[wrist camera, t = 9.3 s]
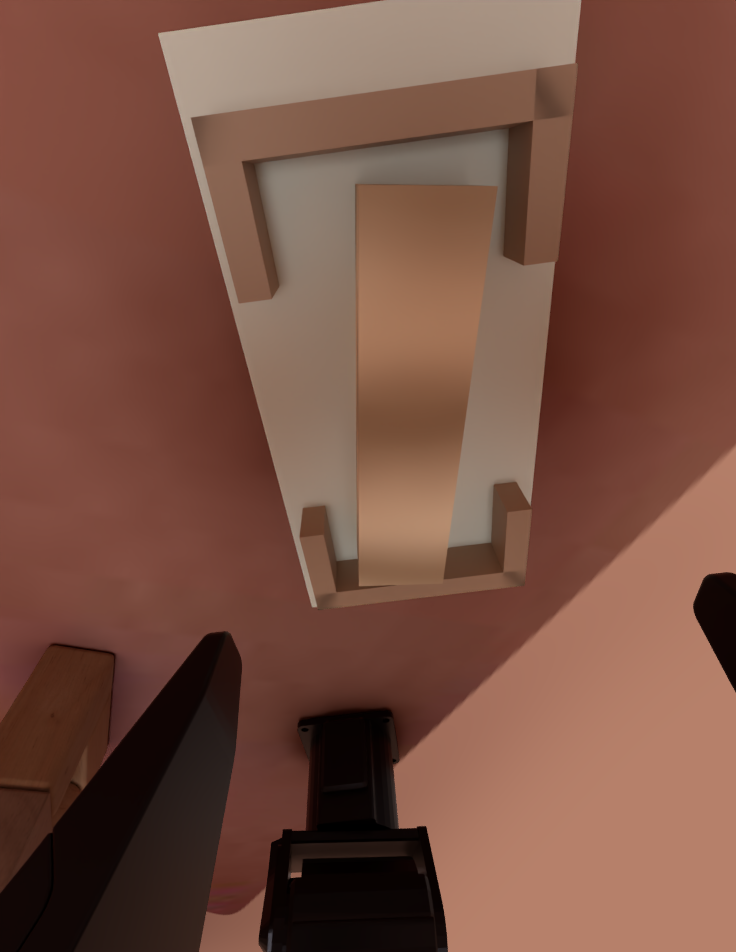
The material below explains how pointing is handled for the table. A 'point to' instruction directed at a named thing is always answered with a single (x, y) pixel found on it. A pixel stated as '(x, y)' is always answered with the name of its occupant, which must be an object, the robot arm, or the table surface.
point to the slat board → (333, 239)
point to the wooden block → (50, 747)
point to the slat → (414, 367)
